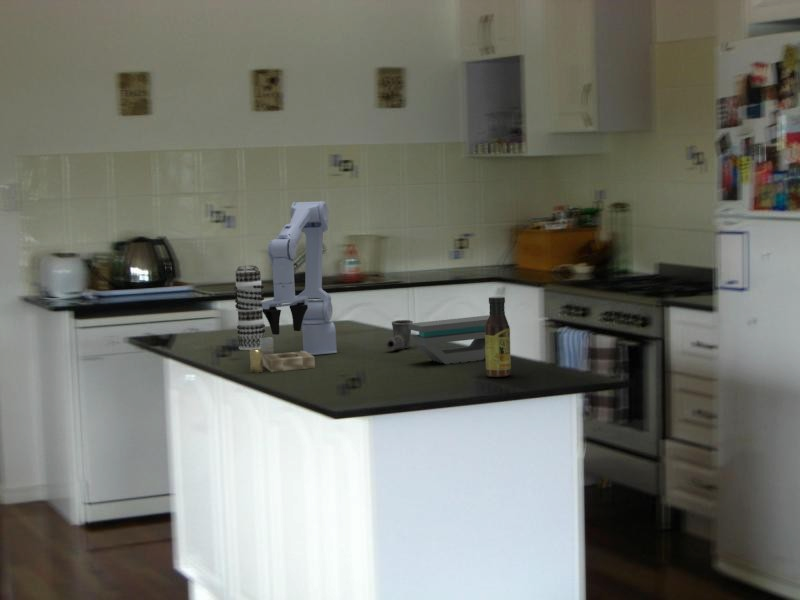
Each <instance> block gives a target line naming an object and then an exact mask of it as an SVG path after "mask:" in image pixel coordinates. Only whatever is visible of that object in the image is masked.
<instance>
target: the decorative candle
mask: <svg viewBox="0 0 800 600" xmlns="http://www.w3.org/2000/svg"><path fill="white" fill-rule="evenodd" d="M261 272H262V270H261V269H259V267H258V266H257V265H240V266H238V267H237V269H236V270H235V271H234V273H235V287H234V288H233V291H234V293H233V296H234V297H235V300H234V303H236V304H235V308H236V309H235V310H236V312H237V326H236V328H237V329H238V330H237V334H238V336H237V340H238V342H237V344H238V345H239V346H238V350H241V351H250V350H251V349H260V338H266V337H267V336H266V334H264V333H265V332H266V329H264V328H265V327H266V324H265V321H264V313H263V309H262V302H264V300H265V297H263V295H265V292H264V291H262V290H263V289H264V288H265V285H263V284H262V279H261Z"/></svg>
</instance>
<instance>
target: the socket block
mask: <svg viewBox="0 0 800 600" xmlns="http://www.w3.org/2000/svg"><path fill="white" fill-rule="evenodd" d="M300 351H301V350H300ZM300 351H291V352H279V353H274V354H265V355H263V367H264V368H266V369H267V370H268V371H269V372H271V373H273V372H285V371H293V370H294V371H297V370H305V369H306V370H307V369H316V361H315V358H316V357H315V355H311V354H309V353H307V352H306V351H301V352H300Z"/></svg>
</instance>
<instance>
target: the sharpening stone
mask: <svg viewBox="0 0 800 600" xmlns="http://www.w3.org/2000/svg"><path fill="white" fill-rule="evenodd" d="M489 316H490V314H489V315H480V316H470V317H469V316H468V317H461V318H459V317H458V318H451V319H441V320H439V319H438V320H431V321H421V322H413V323H410V324H409V329H410V330H411V331H413V332H418V334H415V335H413V334H412V343H413V345H414V346H416V347H417V348H418V350H420V351H421V352H422V353H424V355H425V356H427V357H428V358H429V359H430V360H431V361H432V360H433V361H432V362H435V361H437V362H436V363H439V362H440V363H439V364H442V363H444V364H443V365H451V364H450V363H453V364H459V362H461V363H467V362H468V361H470V362H476V361H477V360H478V361H483V360H485V359H486V354H485V334H486V331H485V325H486V322H487V320H488V318H489ZM471 340H472V341H471ZM461 341H463V342H464V341H471V343H470V344H469V346H461V347H452V348H442V349H441V348H440V347H439V346H438V345H437V344H445V343H453V342H461Z"/></svg>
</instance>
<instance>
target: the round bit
mask: <svg viewBox="0 0 800 600" xmlns="http://www.w3.org/2000/svg"><path fill="white" fill-rule="evenodd" d="M249 361H250V362H249V363H250V373H251V372H254V373H253V374H259V372H261V373H264V366H263V364H262V349H251V350H249Z"/></svg>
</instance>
